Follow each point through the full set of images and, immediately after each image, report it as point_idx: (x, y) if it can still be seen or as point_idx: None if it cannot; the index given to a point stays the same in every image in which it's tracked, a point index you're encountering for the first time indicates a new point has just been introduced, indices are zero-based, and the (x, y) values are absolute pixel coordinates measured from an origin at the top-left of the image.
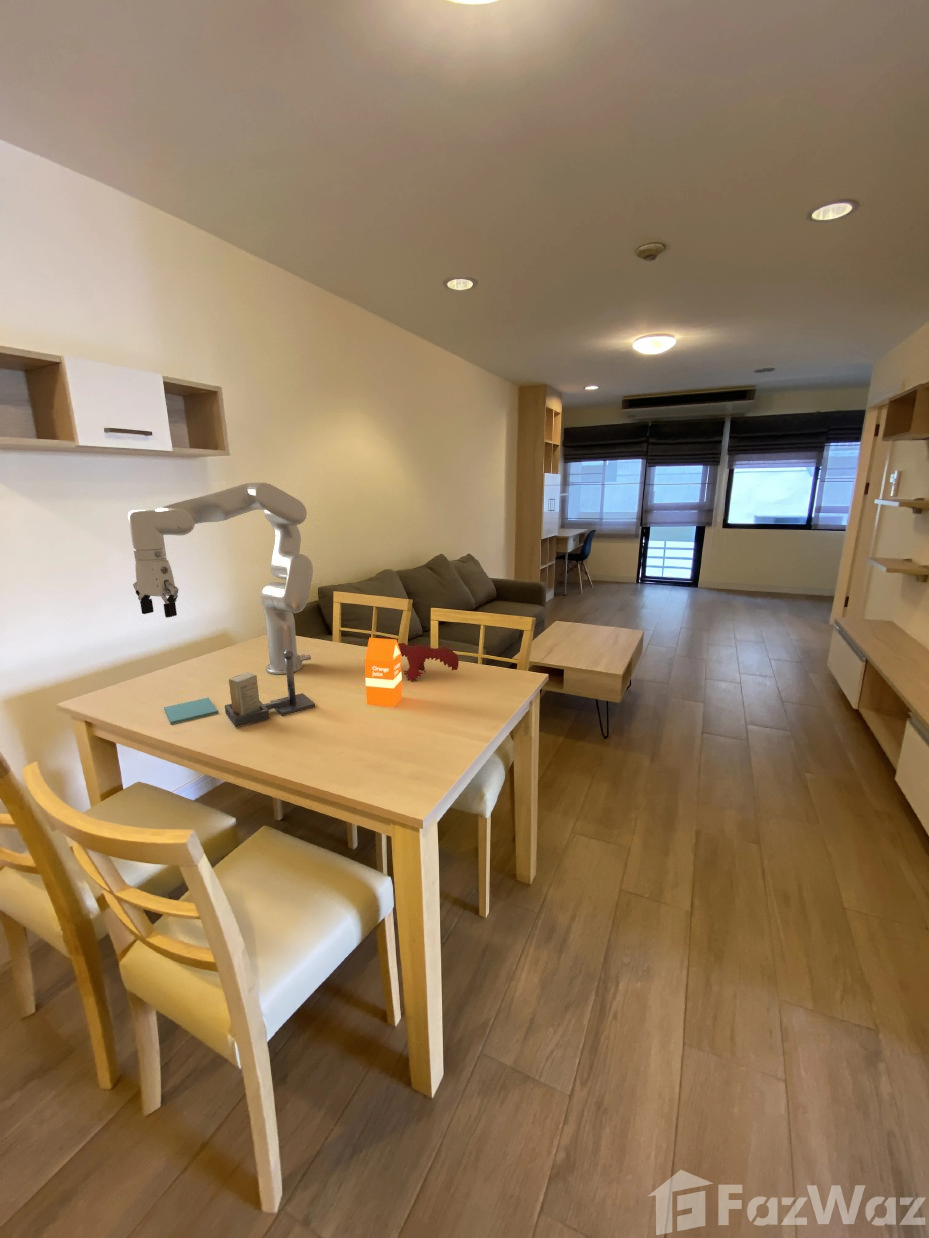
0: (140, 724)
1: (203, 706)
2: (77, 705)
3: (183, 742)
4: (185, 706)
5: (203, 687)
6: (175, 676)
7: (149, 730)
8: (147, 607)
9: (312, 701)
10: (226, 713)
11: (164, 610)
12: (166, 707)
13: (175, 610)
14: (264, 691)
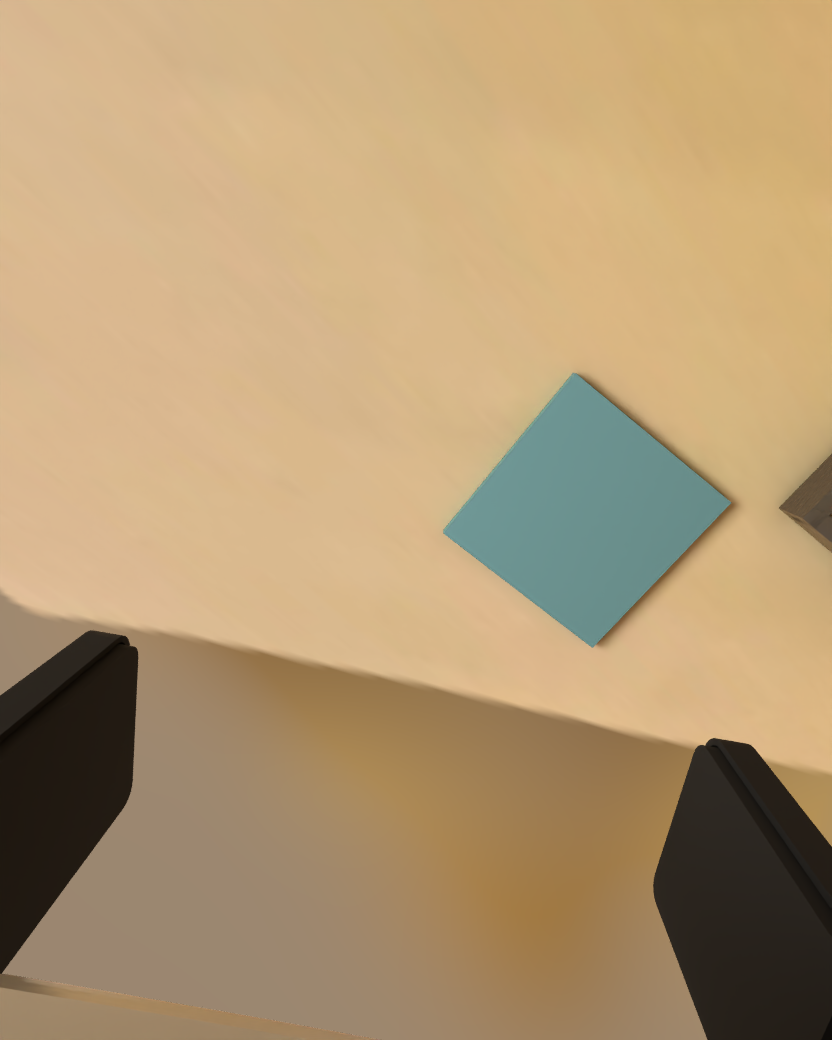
0: (462, 667)
1: (627, 478)
2: (31, 584)
3: None
4: (539, 500)
5: (418, 223)
6: (113, 109)
7: (542, 700)
8: (75, 801)
9: None
10: (798, 523)
11: (709, 1018)
12: (458, 532)
13: (786, 813)
14: (822, 170)
